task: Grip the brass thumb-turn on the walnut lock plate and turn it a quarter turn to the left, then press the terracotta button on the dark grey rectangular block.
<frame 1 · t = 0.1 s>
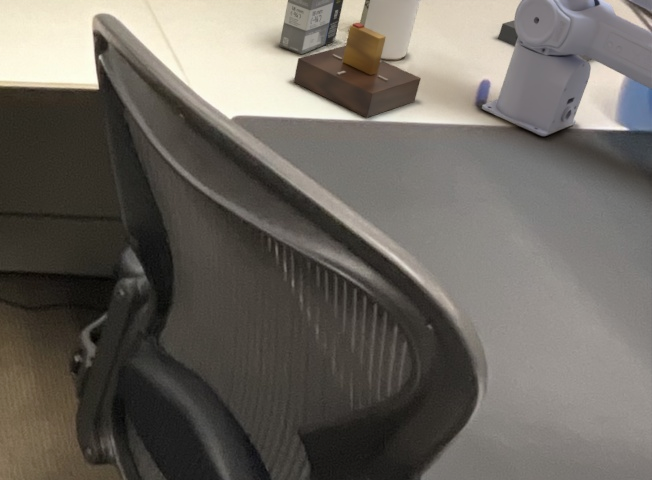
dark grey rectangular block: (548, 47, 162), on the table
thumbturn: (364, 48, 137), point 5 cm above the table, hinge at 0.0°
tape cartridge: (306, 45, 151), on the table
box: (376, 35, 158), on the table
lock plate: (354, 91, 140), on the table
can: (382, 53, 152), on the table
button: (559, 16, 159), point 4 cm above the table, slide at 0.1 cm
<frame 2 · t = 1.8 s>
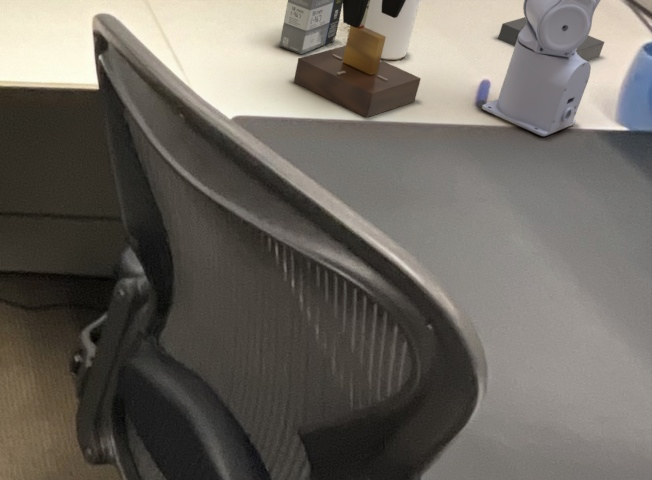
hand: (370, 19, 134), 9 cm above the table, tool pointing down, fingers open, 7 cm apart
nothing on the table moved.
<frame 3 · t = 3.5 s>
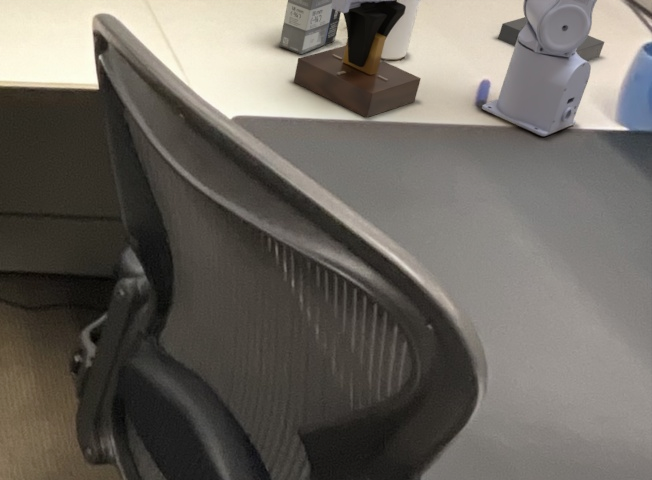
hand: (360, 62, 138), 4 cm above the table, tool pointing down, fingers closed on thumbturn
thumbturn: (364, 48, 137), point 5 cm above the table, hinge at -0.1°, touching gripper
everything else where it was.
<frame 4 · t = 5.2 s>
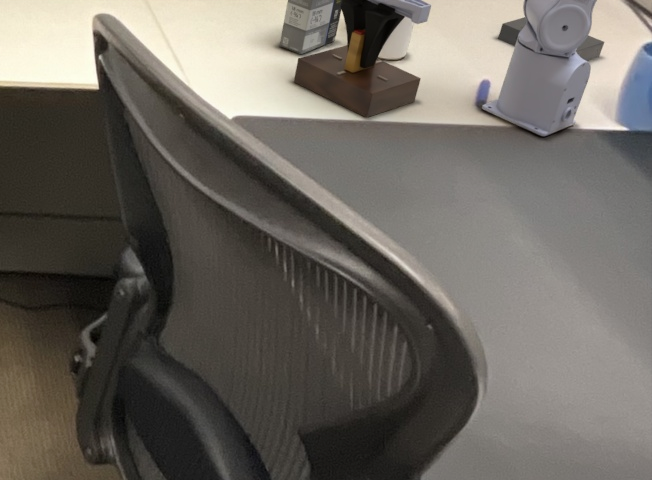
hand: (360, 63, 138), 4 cm above the table, tool pointing down, fingers closed on thumbturn
thumbturn: (364, 48, 137), point 5 cm above the table, hinge at 89.9°, touching gripper
everything else where it was.
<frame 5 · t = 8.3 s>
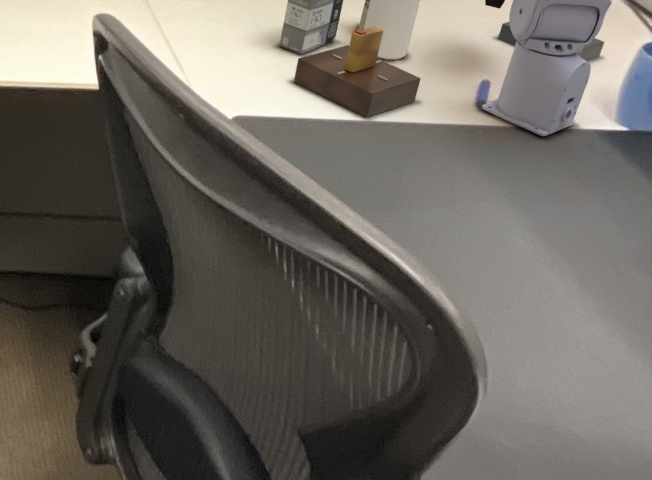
thumbturn: (364, 48, 137), point 5 cm above the table, hinge at 89.9°
everything else where it was.
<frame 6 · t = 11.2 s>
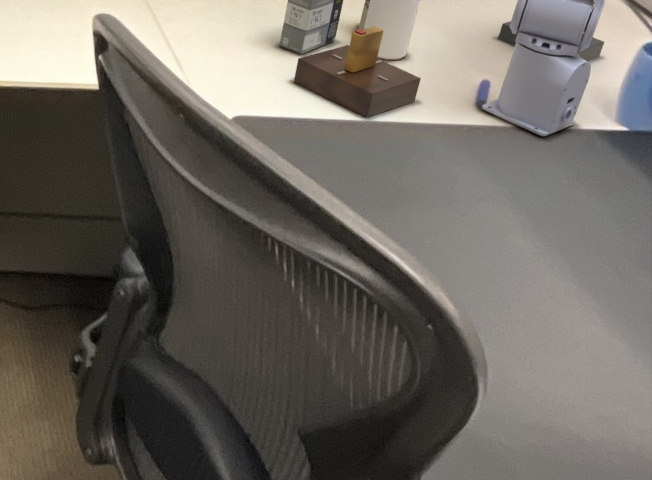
hand: (560, 13, 159), 5 cm above the table, tool pointing down, fingers closed, pressing on button
button: (557, 19, 159), point 4 cm above the table, slide at -0.4 cm, touching gripper
everything else where it was.
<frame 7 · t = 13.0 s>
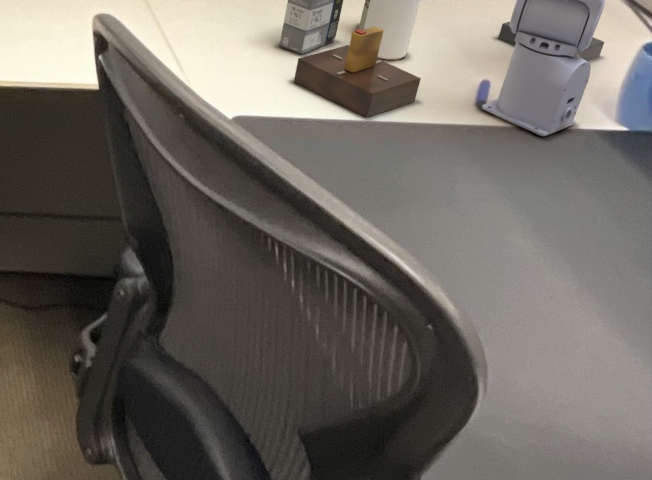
button: (559, 16, 159), point 4 cm above the table, slide at 0.1 cm
everything else where it was.
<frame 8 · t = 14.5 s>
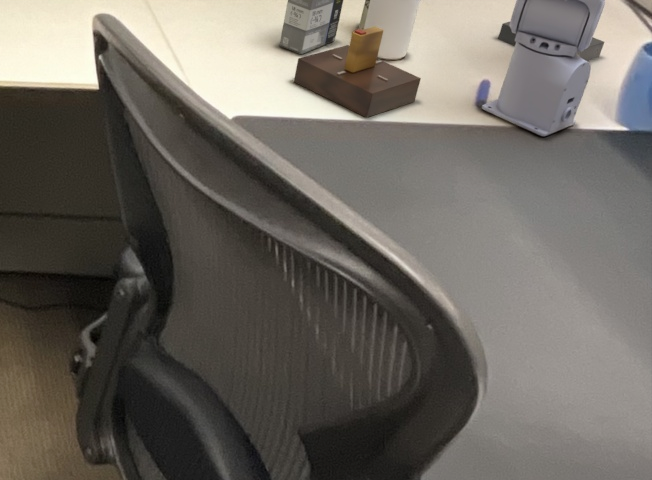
nothing on the table moved.
at the end: thumbturn at +90° (first picture: +0°); button pushed in 1.2 cm at the most during the clip, back to where it started at the end; button slide at 0.1 cm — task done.
